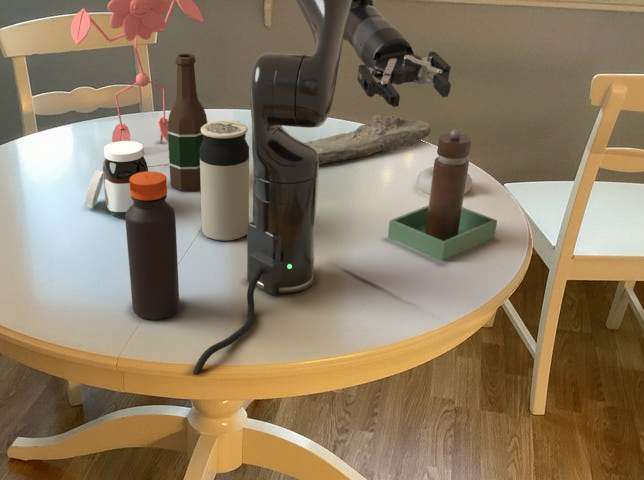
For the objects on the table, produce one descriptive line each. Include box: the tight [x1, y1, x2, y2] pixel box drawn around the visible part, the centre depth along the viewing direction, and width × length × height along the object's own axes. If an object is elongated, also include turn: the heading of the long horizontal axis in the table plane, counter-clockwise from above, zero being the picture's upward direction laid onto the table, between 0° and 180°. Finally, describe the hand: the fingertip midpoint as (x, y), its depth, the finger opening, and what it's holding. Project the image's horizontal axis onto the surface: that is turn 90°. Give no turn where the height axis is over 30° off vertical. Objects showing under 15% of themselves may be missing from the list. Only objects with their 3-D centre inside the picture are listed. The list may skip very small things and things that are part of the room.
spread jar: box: [84, 140, 149, 219], centre depth 149 cm, size 12×11×12 cm
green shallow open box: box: [387, 204, 498, 262], centre depth 138 cm, size 13×11×4 cm
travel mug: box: [200, 120, 250, 242], centre depth 139 cm, size 8×8×18 cm
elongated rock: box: [304, 113, 431, 165], centre depth 174 cm, size 35×5×10 cm
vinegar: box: [124, 170, 180, 321], centre depth 117 cm, size 7×7×20 cm
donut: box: [415, 166, 473, 196], centre depth 156 cm, size 10×4×10 cm
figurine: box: [70, 0, 204, 168], centre depth 165 cm, size 15×26×35 cm, turn 111°
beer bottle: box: [167, 53, 208, 192], centre depth 155 cm, size 8×8×24 cm
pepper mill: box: [425, 128, 472, 241], centre depth 134 cm, size 5×5×18 cm
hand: (422, 97), depth 134 cm, fingers open, 8 cm apart
